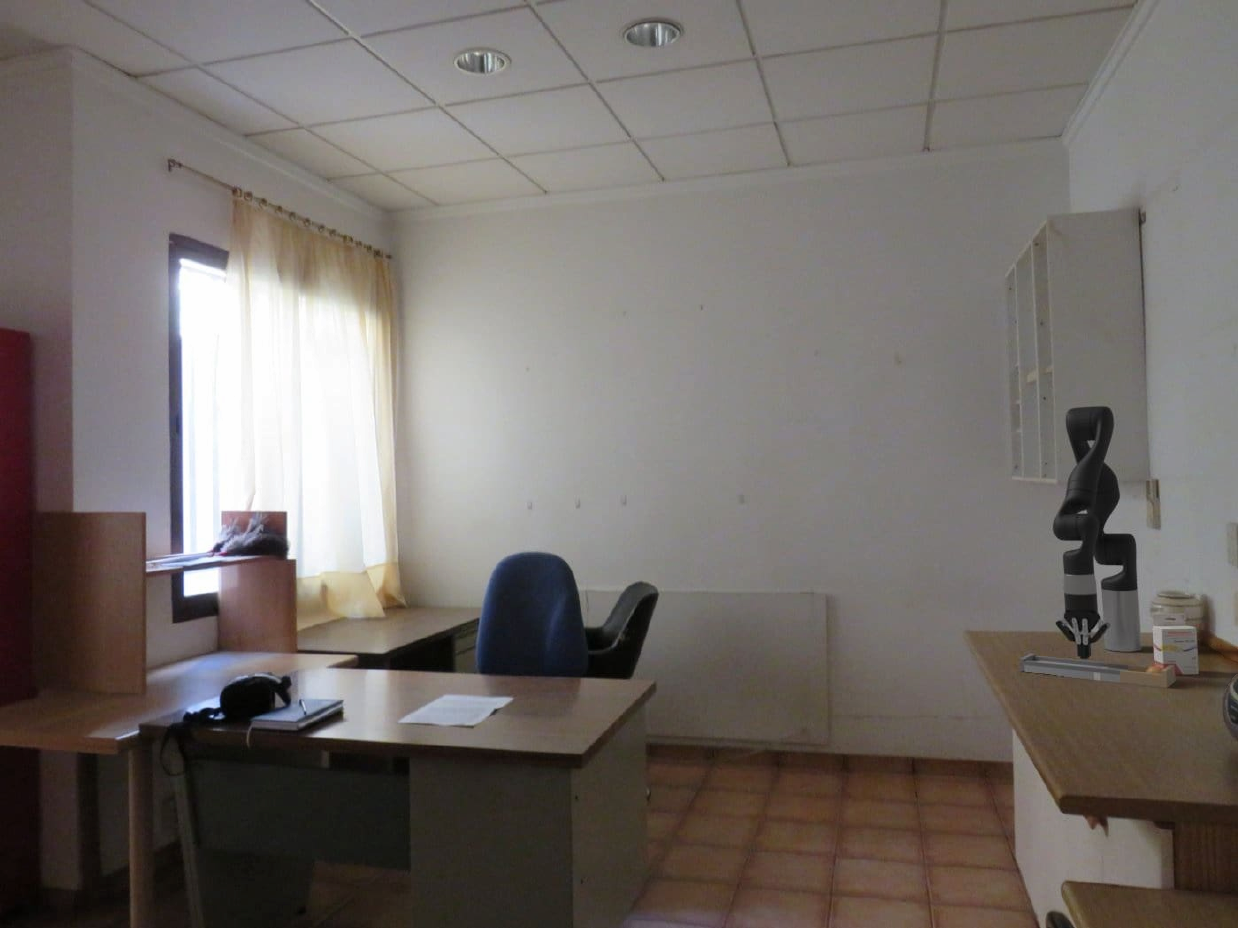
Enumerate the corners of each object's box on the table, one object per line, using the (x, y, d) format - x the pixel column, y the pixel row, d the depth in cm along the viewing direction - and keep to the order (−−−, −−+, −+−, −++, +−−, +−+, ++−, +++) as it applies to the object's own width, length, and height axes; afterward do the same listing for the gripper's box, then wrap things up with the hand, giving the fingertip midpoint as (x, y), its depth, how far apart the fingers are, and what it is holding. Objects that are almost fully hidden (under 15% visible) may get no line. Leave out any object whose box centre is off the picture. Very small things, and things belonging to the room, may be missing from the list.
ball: (1145, 668, 222) (1160, 661, 219) (1156, 683, 220) (1171, 676, 218) (1140, 672, 219) (1155, 664, 217) (1151, 686, 218) (1166, 679, 215)
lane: (1032, 666, 243) (1031, 651, 243) (1175, 681, 219) (1174, 664, 219) (1020, 671, 237) (1019, 656, 238) (1166, 687, 214) (1165, 671, 214)
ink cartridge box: (1164, 675, 226) (1160, 616, 226) (1154, 671, 231) (1150, 613, 231) (1200, 674, 225) (1196, 615, 225) (1189, 669, 230) (1185, 612, 230)
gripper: (1113, 590, 228) (1117, 658, 228) (1058, 587, 238) (1062, 653, 237) (1103, 594, 223) (1108, 664, 223) (1048, 591, 232) (1052, 658, 232)
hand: (1084, 658), depth 230 cm, fingers closed
